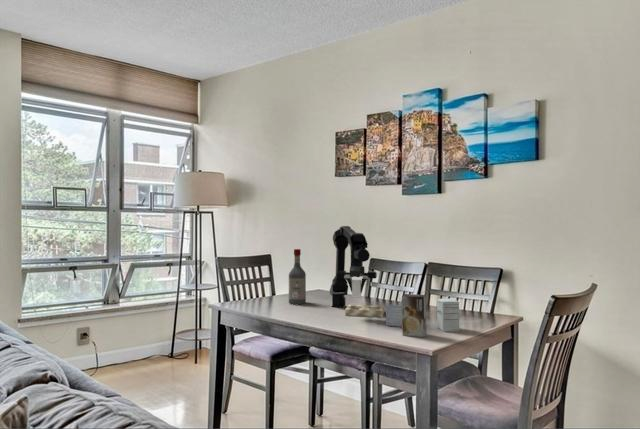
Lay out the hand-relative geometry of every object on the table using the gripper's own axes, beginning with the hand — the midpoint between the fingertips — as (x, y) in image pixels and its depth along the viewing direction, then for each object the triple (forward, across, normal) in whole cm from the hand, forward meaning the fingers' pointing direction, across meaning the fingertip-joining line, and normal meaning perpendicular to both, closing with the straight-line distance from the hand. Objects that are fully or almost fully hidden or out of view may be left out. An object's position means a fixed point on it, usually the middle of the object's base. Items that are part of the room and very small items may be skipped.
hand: (356, 292), depth 228 cm
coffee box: (+12, +27, -28) cm, 41 cm away
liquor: (+12, -37, +32) cm, 51 cm away
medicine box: (+12, +19, -12) cm, 26 cm away
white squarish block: (+2, 0, 0) cm, 2 cm away
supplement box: (+12, +41, -16) cm, 46 cm away
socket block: (+12, +3, +10) cm, 16 cm away
